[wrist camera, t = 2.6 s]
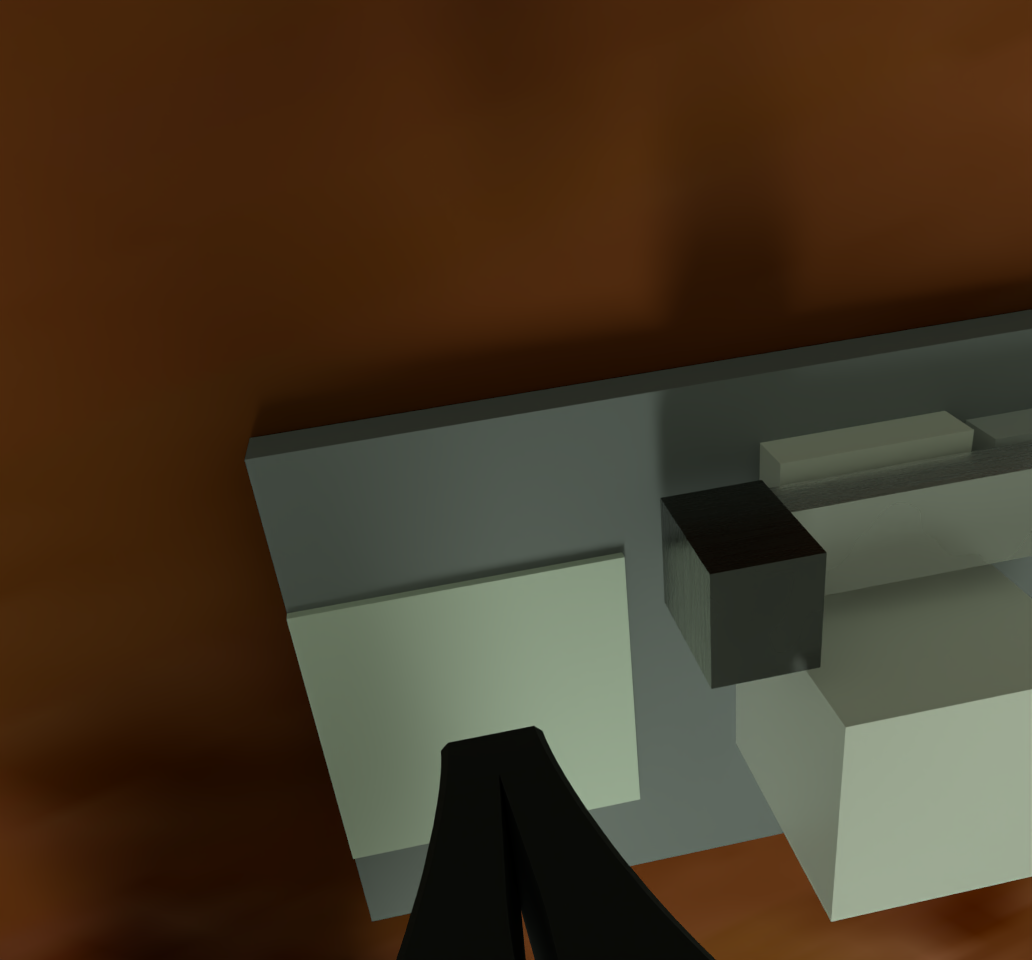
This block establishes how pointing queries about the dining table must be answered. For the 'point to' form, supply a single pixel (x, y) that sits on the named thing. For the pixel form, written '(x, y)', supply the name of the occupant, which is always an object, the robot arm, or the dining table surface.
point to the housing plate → (565, 577)
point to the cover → (899, 711)
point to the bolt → (829, 550)
